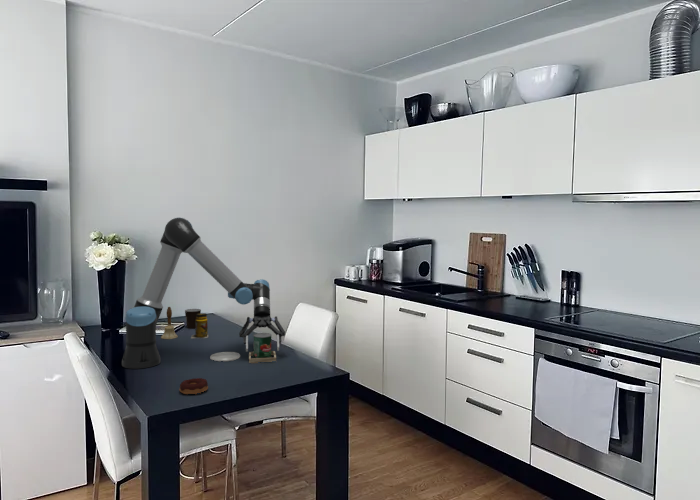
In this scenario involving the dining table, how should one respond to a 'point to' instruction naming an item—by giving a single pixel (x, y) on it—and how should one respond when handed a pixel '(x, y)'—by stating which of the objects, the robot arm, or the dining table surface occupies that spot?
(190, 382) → the donut
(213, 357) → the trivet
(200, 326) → the condiment
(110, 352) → the dining table surface
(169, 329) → the hand bell
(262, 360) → the wooden tray
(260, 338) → the canned tomato
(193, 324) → the coffee mug
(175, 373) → the dining table surface
